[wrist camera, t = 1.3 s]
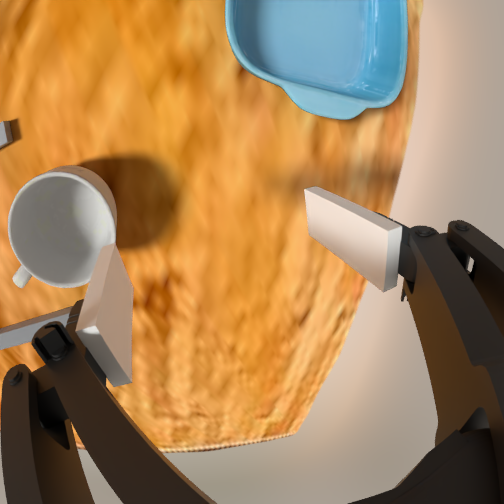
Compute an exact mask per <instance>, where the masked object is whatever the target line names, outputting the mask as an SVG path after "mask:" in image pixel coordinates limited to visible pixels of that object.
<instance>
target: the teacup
mask: <svg viewBox="0 0 504 504" xmlns="http://www.w3.org/2000/svg"><path fill="white" fill-rule="evenodd" d="M116 226H117V210H116V204H115V200H114V197H113V195H112V192H111V190H110V189H109V187H108V185H107V184H106V183H105V181H104V180H103V179H102V178H101V177H100V176H98V175H97V174H96V173H94V172H93V171H91V170H89V169H87V168H84V167H80V166H74V165H69V166H61V167H57V168H54V169H52V170H50V171H48V172H46V173H44V174H41V175H38V176H36V177H35V178H33V179H31V180H30V181H28V182H27V183H26V184H25V185H24V186H23V187H22V188H21V189H20V190H19V192H18V194H17V195H16V197H15V199H14V201H13V203H12V205H11V209H10V212H9V217H8V234H9V239H10V243H11V246H12V249H13V251H14V253H15V255H16V257H17V258H18V260H19V261H20V263H21V264H22V265H21V266H20V268H19V269H18V270H17V272H16V273H15V275H14V276H13V281H14V283H15V284H16V285H17V286H18V287H20V288H23V287H24V286H25V285H26V284H27V282H28V281H29V280H30V278H31V277H32V276H34V277H35V278H37V279H38V280H40V281H42V282H44V283H46V284H48V285H51V286H55V287H61V288H72V287H78V286H82V285H84V284H86V283H89V282H90V279H91V276H92V273H93V270H94V267H95V265H96V262H97V259H98V256H99V253H100V251H101V248H102V247H104V246H107V245H110V244H113V243H116Z"/></svg>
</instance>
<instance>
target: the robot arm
mask: <svg viewBox="0 0 504 504" xmlns="http://www.w3.org/2000/svg"><path fill="white" fill-rule="evenodd" d="M304 191H305V200H306V210H307V220H308V231H309V235H310V236H311V237H313V238H314V239H315V240H317V241H318V242H319V243H321V244H322V245H323V246H325V247H326V248H327V249H329V250H330V251H331V252H333V253H334V254H335V255H336V256H338V257H339V258H340V259H342V260H343V261H344V262H346V263H347V264H348V265H349V266H351V267H352V268H353V269H355V270H356V271H357V272H358V273H360V274H361V275H362V276H363V277H365V278H366V279H367V280H368V281H370V282H371V283H372V284H374V285H375V286H376V287H377V288H379V289H380V290H381V291H382V292H385V291H387V290H390V289H392V288H393V287H396V286H397V278H398V274H400V275H401V276H403V277H404V282H403V289H402V296H401V301H403V300H404V297H405V296H407V301H408V302H409V305H410V308H411V311H412V314H413V317H414V321H415V323H416V327H417V330H418V334H419V337H420V341H421V344H422V348H423V352H424V356H425V360H426V363H427V368H428V372H429V376H430V380H431V385H432V389H433V394H434V399H435V404H436V410H437V415H438V428H437V432H436V437H435V448H434V449H432V450H431V451H430V452H428V453H427V454H426V455H425V457H424V458H423V459H422V460H421V461H420V462H419V463H418V464H417V465H416V466H415V467H414V468H413V470H411V472H410V473H409V474H408V475H407V476H406V477H405V478H404V479H403V480H402V481H400V482H399V483H398V485H397V486H396V487H395V488H394V489H392V490H389V491H386V492H384V493H381V494H378V495H375V496H372V497H369V498H365V499H362V500H359V501H355V502H352V503H348V504H504V249H503V248H502V247H501V246H500V245H498V244H497V243H496V242H494V241H493V240H492V239H490V238H489V237H488V236H486V235H485V234H484V233H482V232H481V231H479V230H478V229H477V228H475V227H474V226H472V225H471V224H469V223H467V222H464V221H462V220H461V221H460V220H457V221H451V222H450V223H449V224H448V232H447V233H442V234H439V233H438V232H437V231H436V230H435V229H434V228H431V227H427V226H414V227H412V228H408V227H407V226H405V225H402V224H401V223H399V222H397V221H393V220H392V219H390V218H387V217H386V216H384V215H382V214H380V213H377V212H373V211H371V210H368V209H366V208H364V207H362V206H360V205H358V204H356V203H353V202H351V201H349V200H347V199H345V198H342V197H340V196H338V195H336V194H333V193H331V192H329V191H327V190H324V189H322V188H320V187H317V186H315V187H311V188H306V189H304ZM470 257H471V258H472V259H473V260H474V264H473V268H472V271H471V272H469V271H468V270H467V269H468V264H469V259H470ZM133 291H134V288H133V286H132V283H131V281H130V279H129V276H128V274H127V271H126V269H125V267H124V264H123V262H122V259H121V256H120V254H119V251H118V249H117V246H116V243H113V244H110V245H107V246H104V247H102V248H101V251H100V253H99V256H98V259H97V262H96V265H95V267H94V270H93V273H92V276H91V279H90V282H89V285H88V289H87V292H86V295H85V298H84V299H82V300H79V301H77V302H76V303H75V305H74V306H73V307H72V309H71V311H70V314H69V318H68V320H67V325H66V327H64V325H63V324H62V323H61V322H60V321H53V322H49V323H47V324H45V325H43V326H42V327H41V328H40V329H38V331H37V332H36V333H35V334H34V336H33V338H32V346H33V347H34V349H35V350H36V351H37V353H38V354H39V356H40V357H41V358H42V360H43V361H44V362H45V364H46V365H44V366H43V367H41V368H39V369H37V370H35V371H33V372H31V371H30V369H29V368H28V367H27V366H26V365H25V364H19V365H16V366H14V367H12V368H11V369H10V370H9V371H8V372H7V374H6V376H5V377H4V380H3V386H2V400H1V455H2V468H3V477H4V485H5V492H6V498H7V504H95V503H94V500H93V498H92V495H91V492H90V489H89V486H88V483H87V480H86V477H85V474H84V471H83V468H82V464H81V461H80V457H79V454H78V451H77V446H76V442H75V438H74V434H73V429H72V425H71V422H72V424H73V426H74V428H75V430H76V432H77V434H78V436H79V437H80V439H81V441H82V443H83V444H84V446H85V448H86V450H87V451H88V453H89V455H90V456H91V458H92V459H93V461H94V463H95V464H96V466H97V467H98V469H99V470H100V472H101V473H102V475H103V476H104V478H105V479H106V481H107V482H108V484H109V485H110V486H111V488H112V489H113V490H114V492H115V493H116V494H117V496H118V497H119V498H120V500H121V501H122V502H123V503H124V504H217V503H216V502H215V501H213V500H212V499H211V498H210V497H208V496H207V495H206V494H205V493H204V492H202V491H201V490H200V489H199V488H198V487H196V485H195V484H193V483H192V482H191V481H190V480H189V479H188V478H187V477H186V476H185V475H183V474H182V473H181V472H180V471H179V470H178V469H177V468H176V467H175V466H174V465H173V464H172V463H171V462H170V461H169V460H168V459H167V458H166V457H165V456H164V455H163V454H162V453H161V452H160V451H159V450H158V448H157V447H156V446H155V445H154V444H153V443H152V442H151V441H150V440H149V439H148V438H147V436H146V435H145V434H144V433H143V432H142V431H141V430H140V429H139V427H138V426H137V425H136V424H135V423H134V421H133V420H132V419H131V418H130V417H129V415H128V414H127V413H126V412H125V410H124V409H123V408H122V407H121V405H120V404H119V403H118V401H117V400H116V399H115V398H114V396H113V395H112V394H111V392H110V391H109V390H108V388H107V387H106V377H107V379H108V380H109V381H110V383H111V384H112V385H113V387H116V386H120V385H125V384H129V383H132V310H133Z"/></svg>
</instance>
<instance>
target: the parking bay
mask: <svg viewBox="0 0 504 504" xmlns="http://www.w3.org/2000/svg"><path fill="white" fill-rule="evenodd" d="M12 141H13V138H12V133H11V128H10V122H9V121H3V122H1V123H0V148H2V147H4V146H5V145H7V144H9V143H11V142H12ZM72 307H73V306H71V307H68V308H65V309H62V310H59V311H55V312H52V313H49V314H46V315H43V316H39V317H36V318H33V319H30V320H27V321H23V322H20V323H17V324H14V325H11V326H7V327H4V328H1V329H0V350H1V349H5V348H9V347H13V346H16V345H20V344H24V343H28V342H31V341H32V338H33V336H34V334H35V333H36V332H37V331H38V329H40V328H41V327H42V326H43V325H45V324H47V323H49V322H53V321H60V322H61V323H62V324H63V325H64V327H66V325H67V320H68V318H69V314H70V311H71V309H72Z"/></svg>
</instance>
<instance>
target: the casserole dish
mask: <svg viewBox="0 0 504 504" xmlns="http://www.w3.org/2000/svg"><path fill="white" fill-rule="evenodd" d="M225 24H226V30H227V36H228V39H229V42H230V46H231V49H232V51H233V53H234V55H235V57H236V59H237V61H238V62H239V63H240V65H241V66H242V67H243V68H244V69H245V70H247V71H248V72H249V73H251V74H253V75H254V76H256V77H258V78H260V79H263V80H265V81H268V82H270V83H273V84H275V85H278V86H280V87H281V88H282V89H283V90H284V91H285V92H286V94H287V95H288V96H289V97H290V98H291V100H292V101H293V102H294V103H295V104H296V105H297V106H298V107H299V108H301V109H302V110H304V111H306V112H309V113H312V114H315V115H319V116H323V117H328V118H333V119H340V120H346V119H351V118H354V117H356V116H357V115H359V114H360V113H361V112H363V111H364V110H365V109H366V108H381V107H385V106H388V105H390V104H391V103H392V102H393V101H394V100H395V99H396V98H397V96H398V95H399V93H400V91H401V89H402V86H403V82H404V78H405V72H406V64H407V49H408V17H407V0H226V3H225Z"/></svg>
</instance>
